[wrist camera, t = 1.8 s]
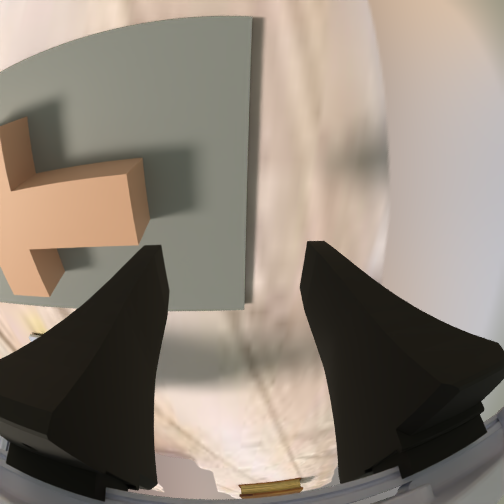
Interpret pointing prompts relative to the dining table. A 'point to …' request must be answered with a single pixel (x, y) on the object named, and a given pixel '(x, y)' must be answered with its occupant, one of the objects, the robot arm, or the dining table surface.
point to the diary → (271, 489)
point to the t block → (62, 211)
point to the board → (149, 147)
